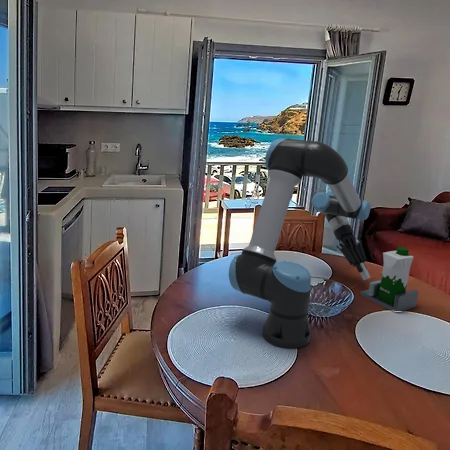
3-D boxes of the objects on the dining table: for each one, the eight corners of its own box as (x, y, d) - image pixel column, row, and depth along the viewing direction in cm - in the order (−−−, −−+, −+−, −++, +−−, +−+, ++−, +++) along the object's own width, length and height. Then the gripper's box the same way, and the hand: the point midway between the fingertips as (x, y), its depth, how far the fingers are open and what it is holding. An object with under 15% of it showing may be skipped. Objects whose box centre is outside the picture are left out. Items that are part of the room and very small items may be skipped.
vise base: (415, 307, 164) (418, 291, 162) (396, 313, 158) (399, 296, 156) (378, 290, 178) (381, 275, 176) (360, 295, 172) (362, 279, 170)
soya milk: (408, 302, 164) (417, 251, 159) (391, 305, 160) (399, 254, 155) (390, 292, 172) (398, 244, 167) (373, 296, 168) (380, 246, 163)
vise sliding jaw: (391, 291, 173) (393, 279, 171) (372, 296, 167) (374, 284, 166) (386, 289, 174) (388, 277, 173) (368, 294, 169) (370, 282, 167)
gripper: (346, 230, 190) (371, 280, 181) (324, 234, 184) (349, 285, 174) (357, 222, 185) (384, 272, 175) (335, 225, 178) (361, 277, 169)
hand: (367, 278), depth 175 cm, fingers closed
